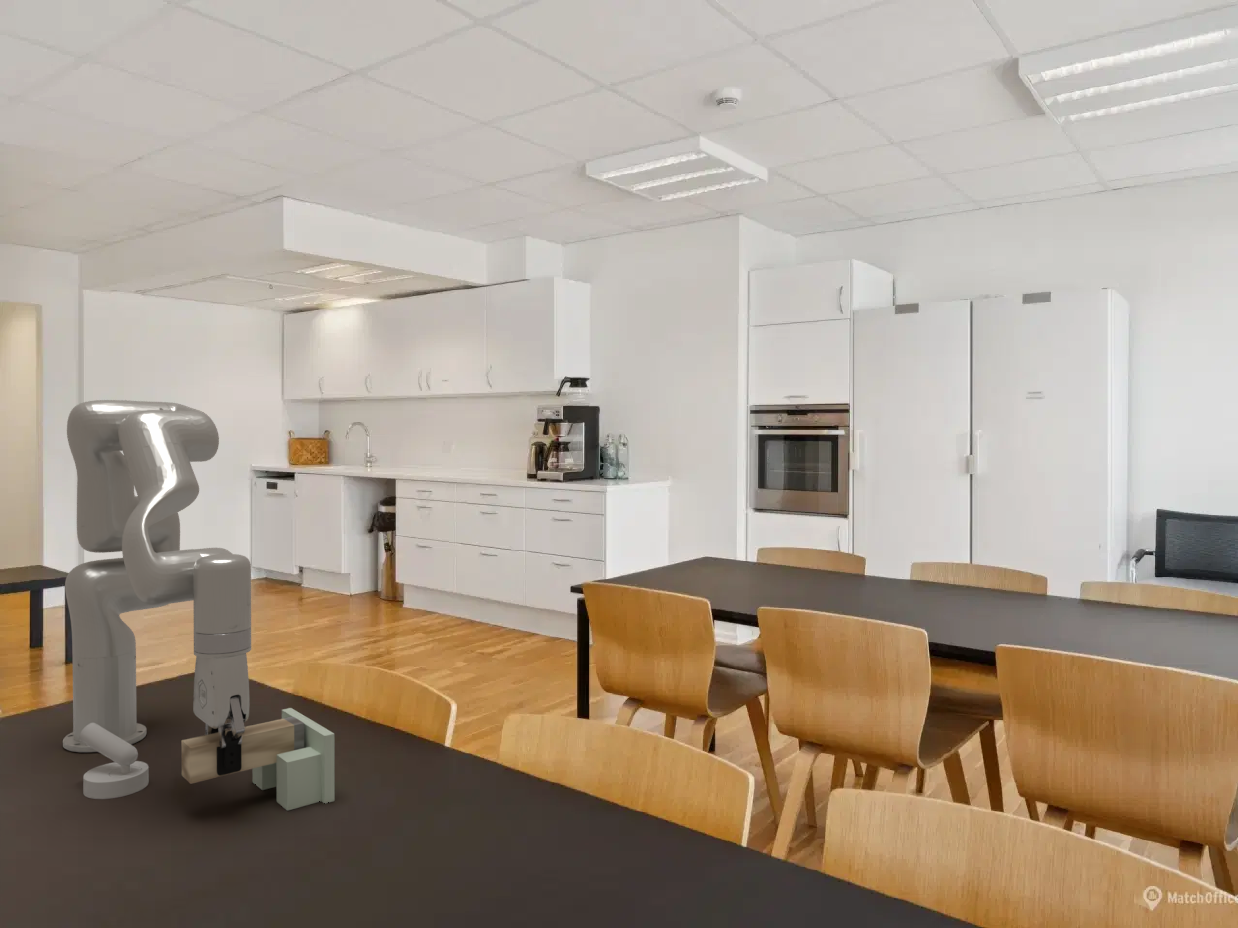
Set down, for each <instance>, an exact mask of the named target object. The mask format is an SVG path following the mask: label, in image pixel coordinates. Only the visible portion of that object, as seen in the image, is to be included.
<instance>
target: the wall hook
mask: <svg viewBox="0 0 1238 928" xmlns="http://www.w3.org/2000/svg"><path fill="white" fill-rule="evenodd" d="M79 741H81V742H83V743H84V744H86V745H88V746H89V747H91V748H93V749H94V750H96V751H98V752H97V753H99V754H101V755H102V756H104V757H106V758H108V759H110V760H111V761H113V762H109V763H105V764H101V765H98V766H95V767H93V768H91V769H89V770H87V772H85V773H84V774H83V779H82V782H83V784H82V785H83V786H82V787H83V788H82V792H83V796H84V797H86V798H89V799H95V800H109V799H117V798H121V797H125V796H129V795H132V794H135V793H137V792H140V791H142V790H144V789H145V788H146V787H147V786H148V785H149V781H150V780H149V779H150V777H149V774H150V773H149V770H150V769H149V768H150V767H149V764H148V763H147V762H144V761H140V760H138V758H139V757H138V756H139V753H138V749H137V748H136V747H135V746H134V745H133V744H129V743H127V742H126V741H124V740H122V739H121V738H119V737H117V736H116V735H114V734H112V733H111V732H109V731H107V730H106V729H104V728H102V727H101V726H99V725H97V724H96V723H90V724H88V725H87V726H86V727H85V728H84V729H83V730H82V731H81V733H80V735H79Z"/></svg>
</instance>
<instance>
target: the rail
mask: <svg viewBox="0 0 1238 928" xmlns="http://www.w3.org/2000/svg"><path fill="white" fill-rule="evenodd" d="M244 727H245V732H244V733H243V734H242V744H241V763H242V768H241V770H240V771H238V772H234V773H229V774H225V775H221V776H219V775H218V774H217V747H220V745H219V732H218V733H214V734H209V735H205V734H204V735H200V736H195V737H190V738H187V739H182V740H180V741H181V745H180V746H181V776H182V777H183V778H184V779H185V780H186V781H187V782H188V783H189V784H190V785H191V784H195V783H200V782H203V781H207V780H211V779H215V778H219V777H224V776H228V775H232V774H236V773H240V772H244V771H249V770H253V768H257V767H261V766H265V765H269V764H273V763H277V754H281V753H286V752H290V751H294V750H298V749H302V748H304V723H303V722H302V721H300V720H298V719H297V718H295V717H289V718H284V719H282V718H280V719H275V720H271V721H265V722H262V723H261V722H260V723H256V724H253V725H252V724H251V725H247V726H244ZM230 730H231V729H229V730H228V729H227V731H225V736H226V734H227V732H228V731H230Z"/></svg>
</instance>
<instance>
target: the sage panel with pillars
mask: <svg viewBox="0 0 1238 928" xmlns="http://www.w3.org/2000/svg"><path fill="white" fill-rule="evenodd" d="M289 717H295V718H297V719H298V720H300V721H302V722H303V723H304V748H302V749H298V750H294V751H290V752H286V753H281V754H277V763H273V764H269V765H265V766H261V767H257V768H253V769H252V783H253V784H254V785H255V784H256V785H255V786H257V788H259V789H260V790H262V791H265V790H268V789H272V788H276V803H277V804H279V805H280V806H282V808H283V809H285V810H286V811H287V812H288V811H291V810H295V809H298V808H302V807H305V806H309V805H312V804H316V803H320V802H322V803H323V804H324V803H325V804H328V802H329V803H332V802H335V798H336V797H335V786H336V785H335V759H336V758H335V757H336V756H335V754H336V753H335V748H336V747H335V733H334V732H332V731H331V730H329V729H327V728H326V727H324V726H322V725H321V724H319V723H317V722H316V721H314V720H312V719H310V718H309V717H307V716H305V715H303V714H302V713H300V712H298V711H297V710H295V709H293V708H292V707H288V708H284V709H281V719H284V718H289ZM319 801H320V802H319Z"/></svg>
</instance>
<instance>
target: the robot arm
mask: <svg viewBox="0 0 1238 928" xmlns="http://www.w3.org/2000/svg"><path fill="white" fill-rule="evenodd" d="M66 423H67V424H66V438H67V442H68V446H69V449H70V453H71V456H72V458H73V461H74V464H75V469H76V477H77V480H76V481H77V485H76V534H77V536H76V537H77V541H78V543H79V545H80V547H81V548H82V549H83V550H84V551H87V552H90V553H99V554H100V553H103V554H105V553H119V552H121V553H122V554H121V555H122V557H116V558H107V559H106V558H105V559H98V560H97V559H96V560H90V561H87V562H83V563H80V564H78V565H77V566H75V567H73V568H72V569H71V570H70V571H69V572H68V574H67V575H66V577H65V582H64V591H65V597H66V602H67V606H68V611H69V617H70V626H71V641H72V642H71V643H72V644H71V646H72V650H71V651H72V652H71V653H72V714H73V715H72V717H73V718H72V723H73V725H72V727H73V728H72V732H70V733H68V734H66V735H65V737H63V740H62V747H63V748H64V749H65V750H67V751H69V752H73V753H74V752H75V753H99V752H98V751H96V750H94V749H93V748H91V747H89V746H88V745H86V744H84V743H83V742H81V741H79V735H80V733H81V731H82V730H83V729H84V728H85V727H86V726H87V725H88V724H90V723H96V724H97V725H99V726H101V727H102V728H104V729H106V730H107V731H109V732H111V733H112V734H114V735H116V736H117V737H119V738H121V739H122V740H124V741H126V742H127V743H129V744H131V745H134V744H135V743H138V742H139V741H142V740H143V739H144V738H145V737H146V735H147V727H146V725H144V724H142V723H138V722H137V647H136V646H137V641H136V636H135V634H134V632H133V630H132V629H131V627H130V626H128V625H127V624H126V623H125V621H123V619H122V618H121V616H120V615H122V614H124V613H125V614H126V613H129V612H135V611H141V610H148V609H155V608H162V607H164V606H168V605H170V604H177V603H183V602H192V601H193V655H194V656H195V658H196V659H195V665H194V678H193V679H194V680H193V699H192V701H193V705H192V708H193V714H194V715H195V717H197V718H198V719H200V721H202V722H203V723H205V726H204V735H209V734H214V733H218V732H219V745H220V747H217V774H218V775H219V776H220V777H222V776H221V775H224V776H226V775H225V774H228V775H230V774H229V773H232V774H235V773H234V772H236V773H239V772H238V771H240V770H241V768H242V763H241V744H242V734H243V733H244V732H245V727H246V726H245V723H246V722H247V721H248V720H249V716H250V678H249V669H248V668H249V667H248V657H247V654H248V653H249V652H250V651H252V565H251V561H250V559H249V558H248V557H247V556H245V555H242V554H237V553H232V552H231V551H229V550H228V549H225V548H222V547H206V548H194V549H193V548H191V549H180V548H181V523H180V521H181V520H180V515H179V512H181V511H183V510H185V509H186V508H187V507H189V506H190V505H192V504H193V503H194V502H195V501H196V499H197V498H198V497H199V493H200V486H199V482H198V479H197V477H196V474H195V472H194V469H193V467H192V462H195V463H196V462H197V463H199V462H208V461H210V460H212V459H213V457H215V456H216V454H217V452H218V450H219V444H220V437H219V436H220V435H219V432H218V428H217V425H216V424H215V422H214V420H212V418H211V416H209V415H208V414H207V413H205V412H204V411H201V410H199V409H196V408H192V407H190V406H186V405H184V404H181V403H177V402H166V401H164V402H163V401H147V400H146V401H145V400H143V401H142V400H140V401H139V400H138V401H137V400H126V399H125V400H123V399H101V400H100V399H99V400H97V399H96V400H89V401H84V402H80V403H79V404H76V405H75V406H74V407H73V408H71V411H70V413H69V415H68V419H67V422H66ZM135 492H136V494H137V496H136V495H135ZM229 720H230V722H228V721H229ZM228 729H229V730H230V731H228ZM225 731H228V732H227V734H226V736H225Z"/></svg>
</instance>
